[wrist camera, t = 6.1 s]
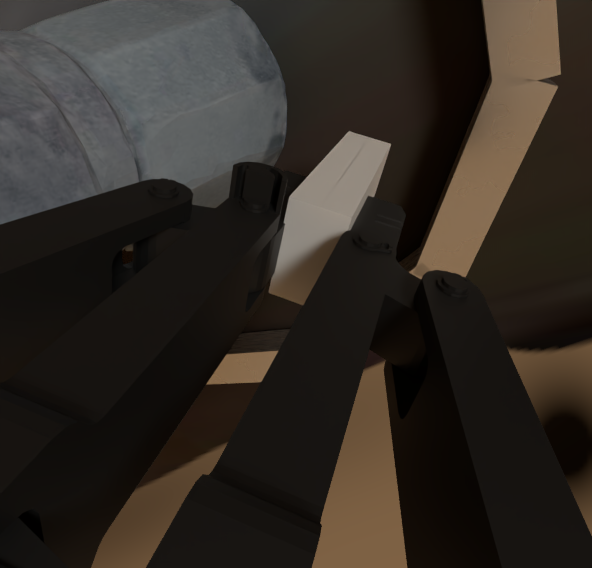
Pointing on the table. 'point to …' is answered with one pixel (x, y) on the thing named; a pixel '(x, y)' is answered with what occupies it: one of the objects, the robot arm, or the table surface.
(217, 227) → the robot arm
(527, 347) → the table surface
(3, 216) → the moka pot
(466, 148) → the indicator ring
